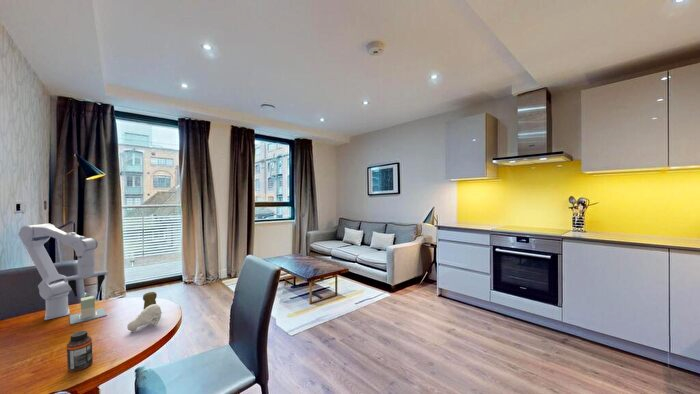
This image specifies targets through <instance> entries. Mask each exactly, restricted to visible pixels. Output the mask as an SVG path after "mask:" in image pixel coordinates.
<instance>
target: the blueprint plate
mask: <svg viewBox="0 0 700 394" xmlns="http://www.w3.org/2000/svg"><path fill="white" fill-rule="evenodd" d="M103 317H107V312H106V309H105V307H99V308H97V309H96V308H95V315H94V316H89V317H85V318H82V317H81V312H79V313H76V314H75V313H74V314H69V325H70V326H71V325H75V324H79V323H83V322H88V321H91V320H96V319H99V318H103Z"/></svg>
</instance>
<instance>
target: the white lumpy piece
mask: <svg viewBox="0 0 700 394" xmlns="http://www.w3.org/2000/svg"><path fill="white" fill-rule="evenodd" d="M143 309H144V308H143ZM162 313H163V312H162V309H161V306H160V305H158V304H157V303H156V304H153V305H150V306H148V307H146V308H145V309H144V310H142V311H141V312H140V313H139V314H138V315H137V317H136V318H135V319H133V320H131V321H130V322H129V323H128V324H127V330H128V331H130V332H131V333H134V332H137V331H138V329H139V328H140V327H143V326H146V325H153V326H154V327H157V325H158V324H159V323H160V321H161V317H162Z"/></svg>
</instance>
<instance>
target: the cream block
mask: <svg viewBox="0 0 700 394" xmlns="http://www.w3.org/2000/svg"><path fill="white" fill-rule="evenodd" d="M95 307H96V306H95ZM95 307H91V308H86V309H82V310H81V309H80V310H81V311H80V313H81V317H82V318H85V317H89V316H94V315H95V310H96V308H95Z"/></svg>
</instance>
